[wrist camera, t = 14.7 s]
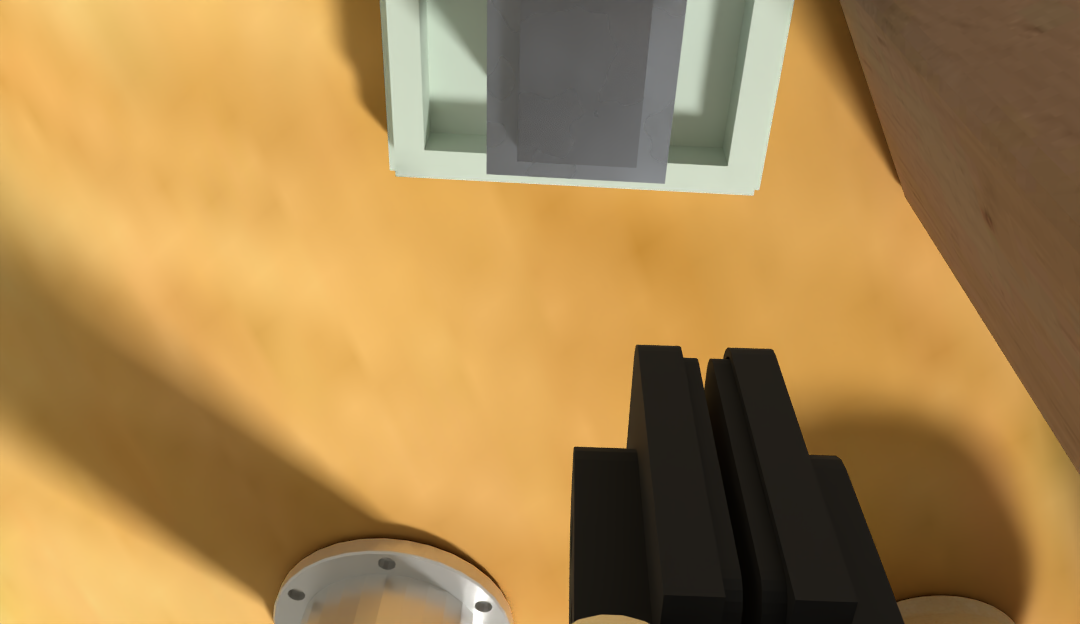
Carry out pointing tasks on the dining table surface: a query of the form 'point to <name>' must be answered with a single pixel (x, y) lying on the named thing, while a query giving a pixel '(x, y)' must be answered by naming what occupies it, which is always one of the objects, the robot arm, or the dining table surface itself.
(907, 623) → the planter bowl
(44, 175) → the dining table surface
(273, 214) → the dining table surface
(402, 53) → the chassis
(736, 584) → the robot arm
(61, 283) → the dining table surface
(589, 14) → the block
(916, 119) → the wooden block
